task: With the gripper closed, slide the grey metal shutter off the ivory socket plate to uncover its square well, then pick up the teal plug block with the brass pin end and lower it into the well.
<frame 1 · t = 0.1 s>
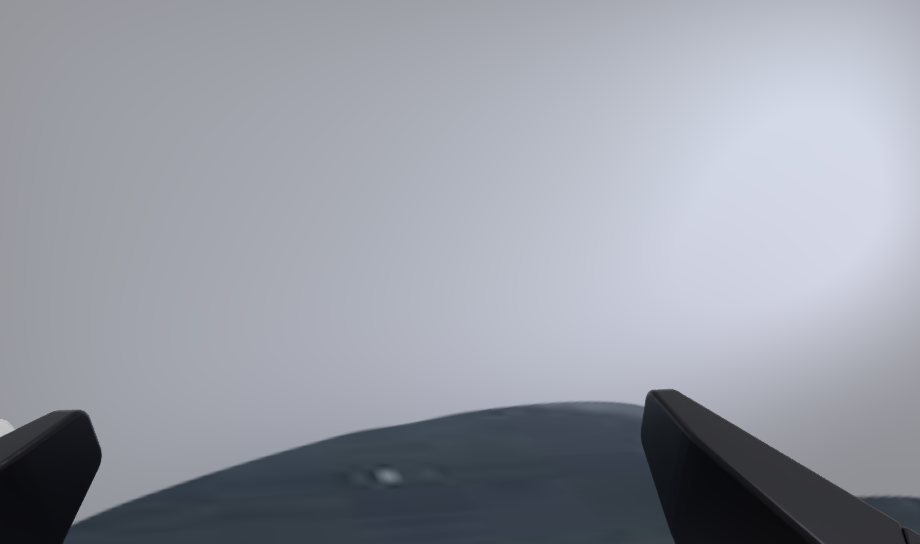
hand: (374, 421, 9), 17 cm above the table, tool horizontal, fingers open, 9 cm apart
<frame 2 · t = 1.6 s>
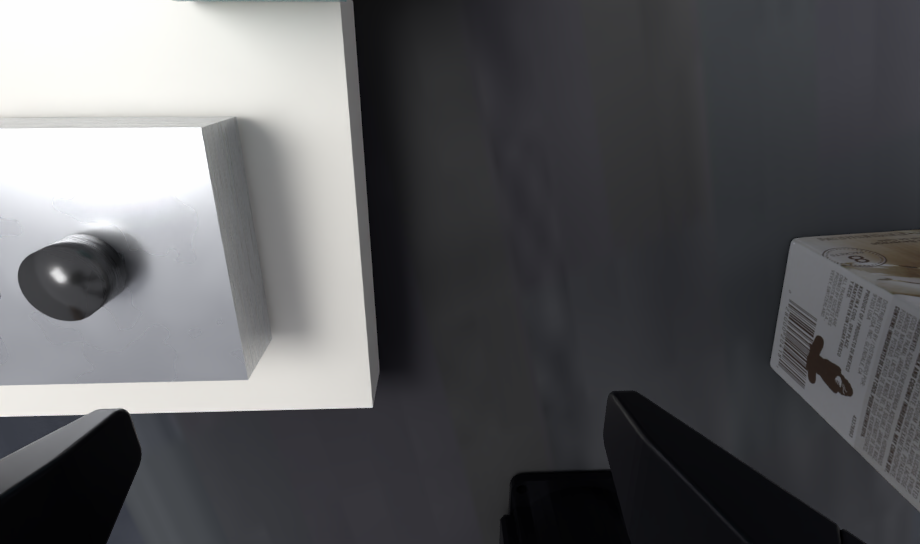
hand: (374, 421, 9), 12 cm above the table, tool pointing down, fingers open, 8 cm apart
socket plate: (177, 213, 19), on the table
coffee box: (878, 295, 22), on the table
shutter: (102, 259, 15), point 5 cm above the table, slide at 0.0 cm
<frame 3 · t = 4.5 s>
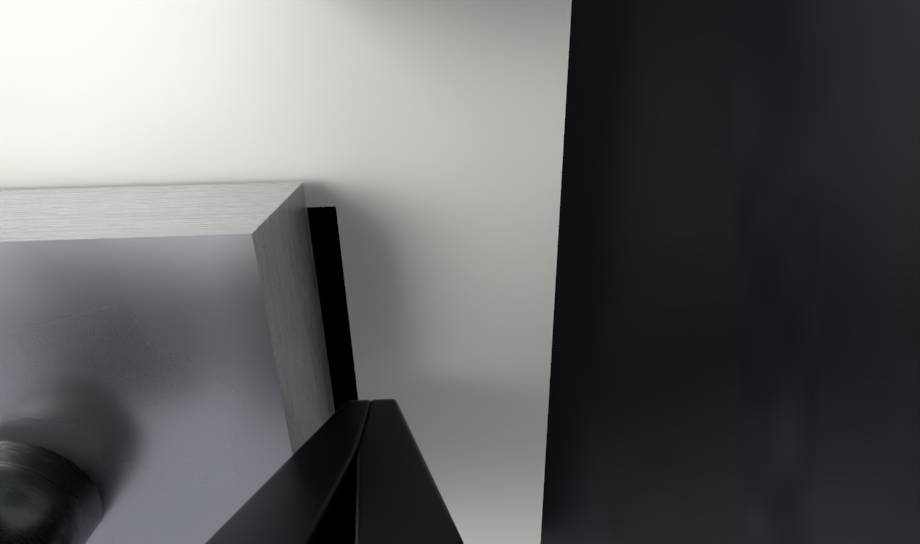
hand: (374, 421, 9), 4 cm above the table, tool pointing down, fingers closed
socket plate: (229, 316, 12), on the table
shutter: (57, 463, 8), point 5 cm above the table, slide at 0.9 cm, touching gripper
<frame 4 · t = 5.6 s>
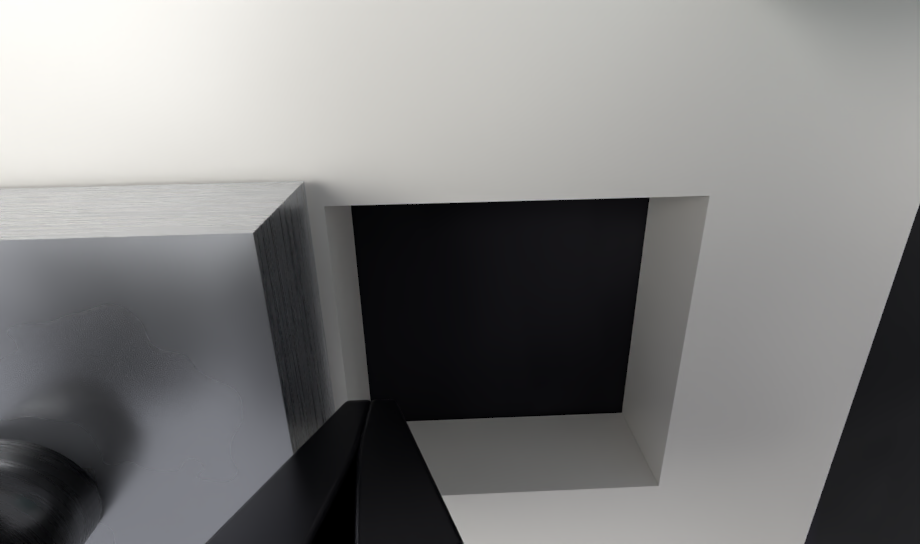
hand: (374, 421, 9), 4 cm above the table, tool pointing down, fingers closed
socket plate: (499, 306, 12), on the table
shutter: (57, 462, 8), point 5 cm above the table, slide at 7.2 cm, touching gripper
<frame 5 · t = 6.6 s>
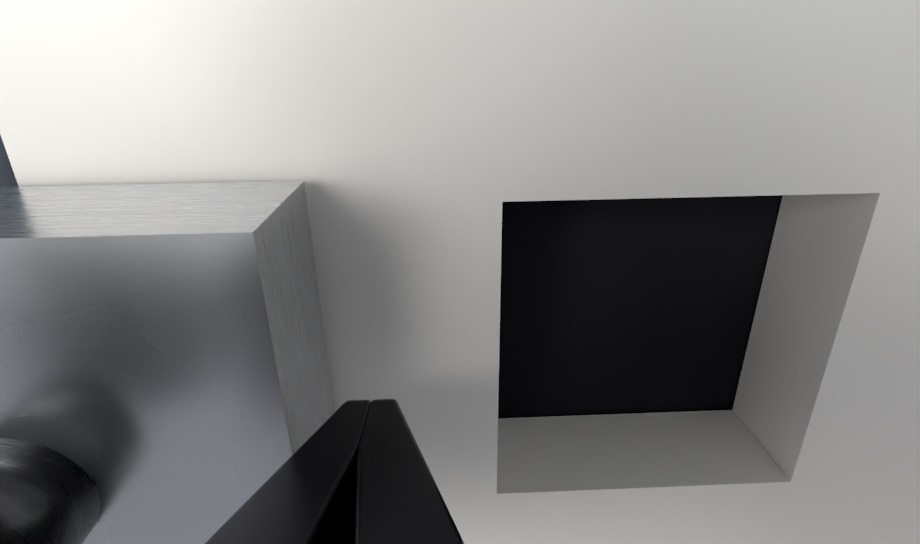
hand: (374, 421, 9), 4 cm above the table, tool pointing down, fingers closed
socket plate: (624, 303, 12), on the table
shutter: (55, 461, 8), point 5 cm above the table, slide at 10.2 cm, touching gripper
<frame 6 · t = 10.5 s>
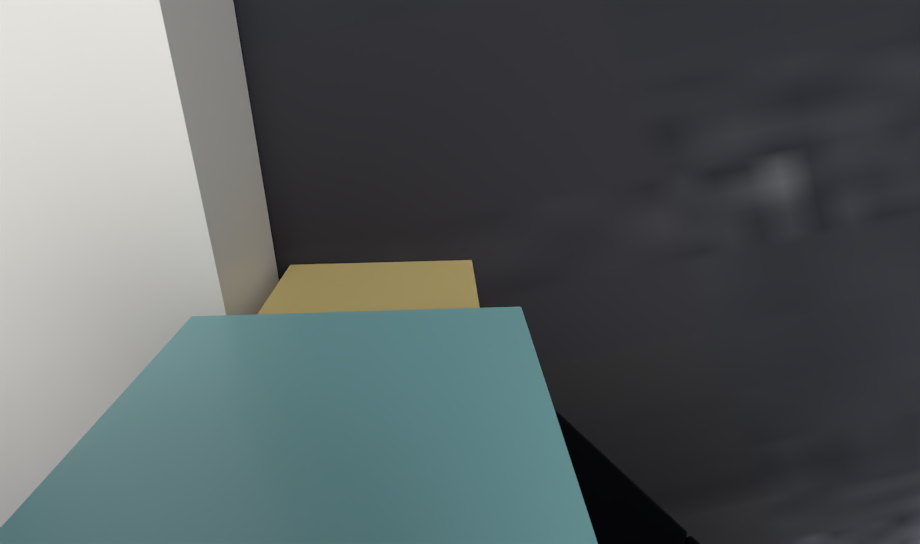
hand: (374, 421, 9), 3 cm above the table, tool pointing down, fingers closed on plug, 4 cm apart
plug: (387, 340, 11), on the table, touching gripper
when the fingers open (4 cm above the table, at t = 14.4 s): plug drops 1 cm, resting in socket plate.
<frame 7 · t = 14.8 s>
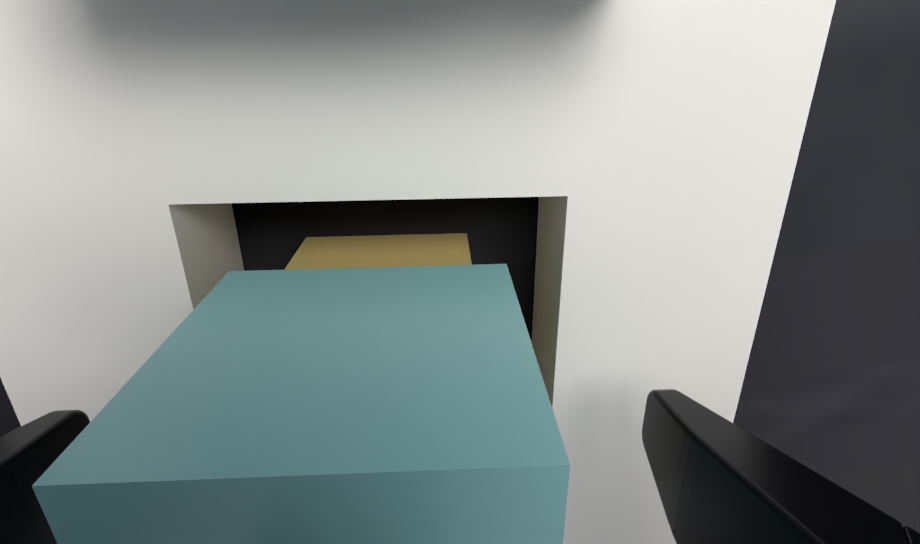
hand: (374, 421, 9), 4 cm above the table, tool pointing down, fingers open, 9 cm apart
plug: (392, 306, 12), resting in socket plate
socket plate: (393, 307, 12), on the table
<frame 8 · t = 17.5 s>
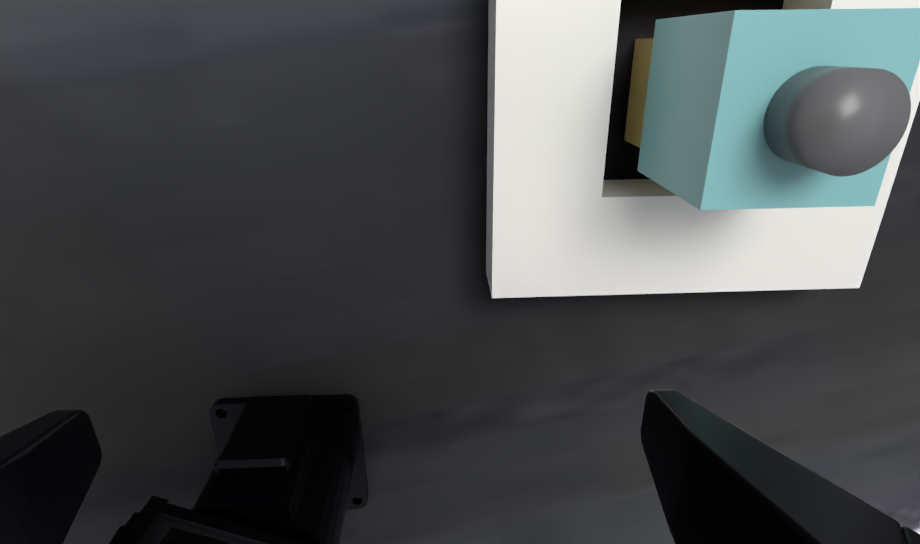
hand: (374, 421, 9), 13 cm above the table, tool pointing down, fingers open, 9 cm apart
plug: (676, 90, 19), resting in socket plate
socket plate: (678, 90, 19), on the table
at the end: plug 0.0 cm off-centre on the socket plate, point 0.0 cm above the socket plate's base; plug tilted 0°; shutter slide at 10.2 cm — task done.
